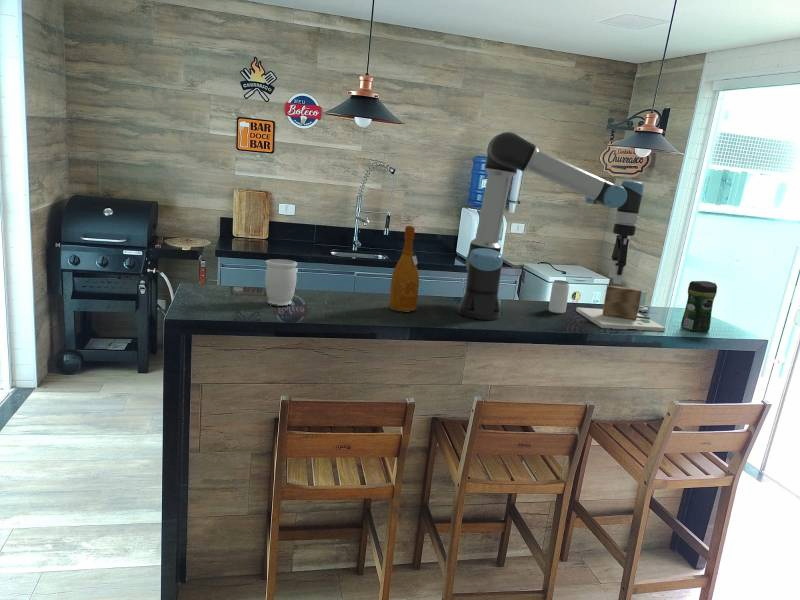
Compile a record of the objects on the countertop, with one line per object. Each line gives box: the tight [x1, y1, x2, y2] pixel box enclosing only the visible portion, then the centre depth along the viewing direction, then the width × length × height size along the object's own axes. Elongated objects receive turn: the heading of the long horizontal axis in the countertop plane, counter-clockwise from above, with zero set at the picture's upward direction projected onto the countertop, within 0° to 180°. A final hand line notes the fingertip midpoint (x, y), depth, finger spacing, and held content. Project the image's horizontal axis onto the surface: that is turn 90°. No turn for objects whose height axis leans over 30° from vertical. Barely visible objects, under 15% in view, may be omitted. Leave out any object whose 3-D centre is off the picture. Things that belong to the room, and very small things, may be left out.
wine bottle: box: [389, 225, 420, 312], centre depth 209 cm, size 10×10×30 cm
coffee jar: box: [680, 280, 718, 333], centre depth 220 cm, size 10×8×19 cm
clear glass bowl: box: [638, 290, 649, 314], centre depth 247 cm, size 12×12×8 cm
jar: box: [264, 258, 298, 305], centre depth 203 cm, size 11×10×15 cm
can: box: [548, 279, 570, 314], centre depth 230 cm, size 6×6×12 cm
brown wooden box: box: [602, 284, 651, 320], centre depth 223 cm, size 17×3×11 cm, turn 75°
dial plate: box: [575, 306, 666, 332], centre depth 225 cm, size 24×24×2 cm
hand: (614, 280), depth 222 cm, fingers open, 13 cm apart
